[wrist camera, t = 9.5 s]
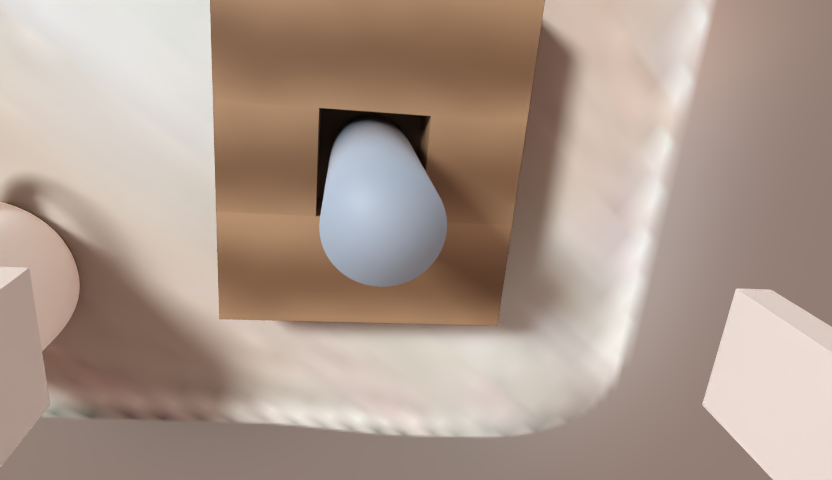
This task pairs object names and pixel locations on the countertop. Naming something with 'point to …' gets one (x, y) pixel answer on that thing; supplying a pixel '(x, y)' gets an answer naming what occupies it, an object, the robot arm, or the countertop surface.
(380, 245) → the dowel
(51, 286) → the mug
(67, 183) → the countertop surface
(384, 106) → the board
